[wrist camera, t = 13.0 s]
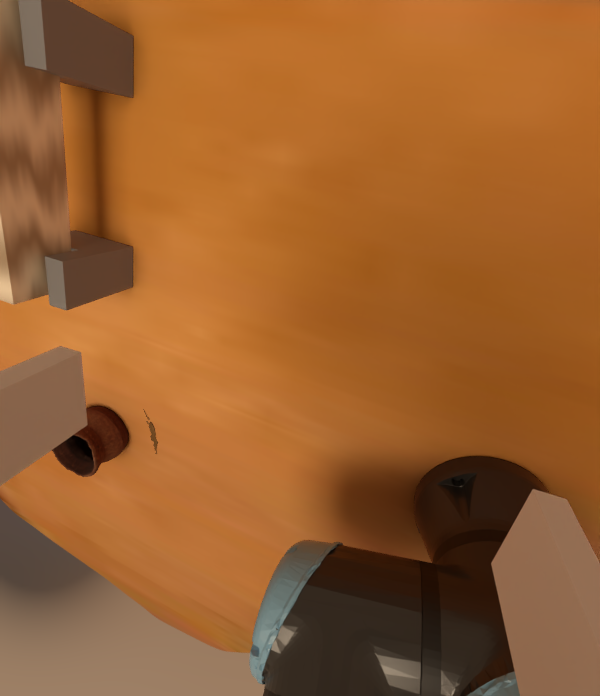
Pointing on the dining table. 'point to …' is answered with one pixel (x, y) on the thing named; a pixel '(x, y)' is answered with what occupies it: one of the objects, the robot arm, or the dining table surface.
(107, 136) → the dining table surface
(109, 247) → the set of support blocks
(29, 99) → the ash rail plank
